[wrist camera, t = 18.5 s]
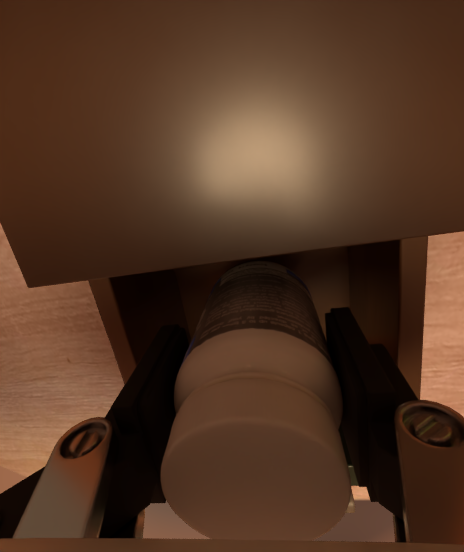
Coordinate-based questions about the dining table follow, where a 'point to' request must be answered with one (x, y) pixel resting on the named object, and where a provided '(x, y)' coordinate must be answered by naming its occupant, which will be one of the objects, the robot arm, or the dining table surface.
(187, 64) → the cabinet
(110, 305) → the drawer
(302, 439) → the pill bottle
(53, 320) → the dining table surface
